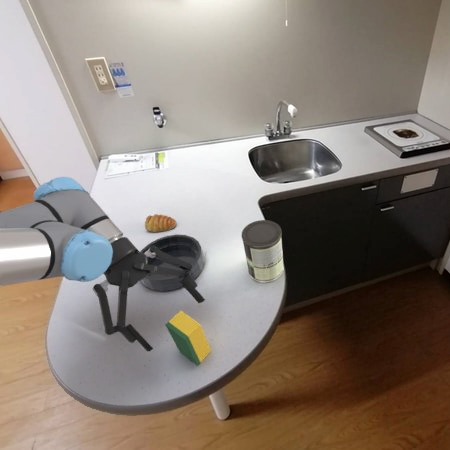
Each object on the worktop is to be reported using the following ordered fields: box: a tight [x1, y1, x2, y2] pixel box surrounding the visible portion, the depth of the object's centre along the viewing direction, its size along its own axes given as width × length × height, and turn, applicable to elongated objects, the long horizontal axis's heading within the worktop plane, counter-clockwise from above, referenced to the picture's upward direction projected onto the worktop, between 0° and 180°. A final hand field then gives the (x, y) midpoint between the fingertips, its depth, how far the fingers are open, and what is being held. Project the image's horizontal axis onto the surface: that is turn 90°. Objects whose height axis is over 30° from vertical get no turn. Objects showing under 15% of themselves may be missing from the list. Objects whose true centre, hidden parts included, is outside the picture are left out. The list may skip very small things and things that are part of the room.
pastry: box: [144, 213, 177, 233], centre depth 101 cm, size 9×7×4 cm
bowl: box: [139, 234, 205, 292], centre depth 87 cm, size 18×18×5 cm
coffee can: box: [241, 219, 285, 284], centre depth 83 cm, size 10×10×14 cm
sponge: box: [164, 310, 212, 366], centre depth 65 cm, size 4×6×11 cm, turn 56°
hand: (177, 324), depth 65 cm, fingers open, 13 cm apart
